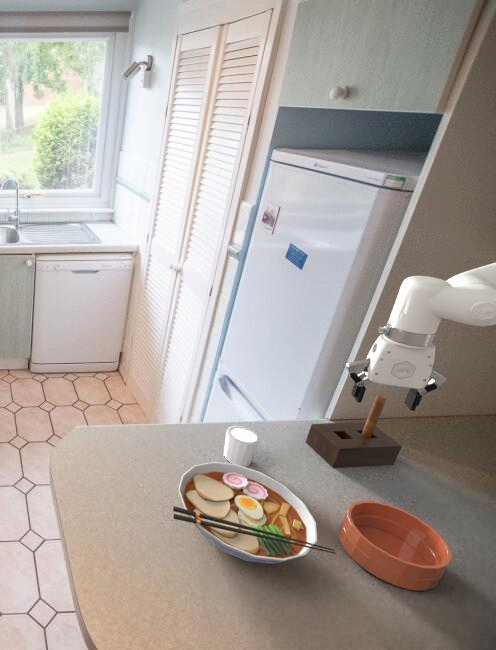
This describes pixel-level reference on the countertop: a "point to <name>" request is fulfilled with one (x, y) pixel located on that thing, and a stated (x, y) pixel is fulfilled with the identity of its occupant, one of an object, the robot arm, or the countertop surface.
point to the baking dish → (394, 545)
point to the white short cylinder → (240, 445)
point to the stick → (374, 415)
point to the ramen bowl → (246, 513)
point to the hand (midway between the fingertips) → (382, 403)
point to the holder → (352, 445)
